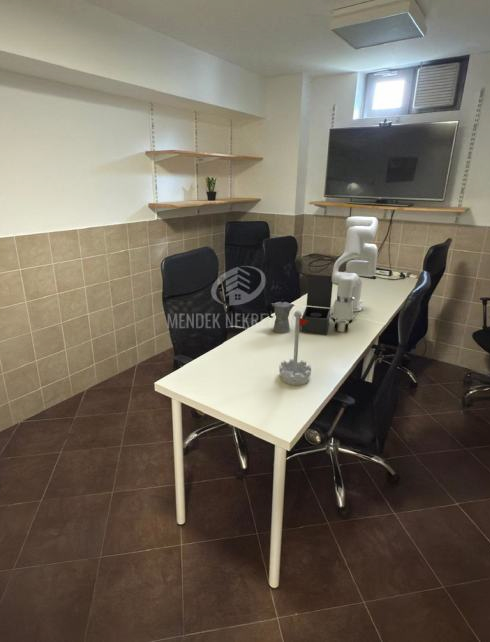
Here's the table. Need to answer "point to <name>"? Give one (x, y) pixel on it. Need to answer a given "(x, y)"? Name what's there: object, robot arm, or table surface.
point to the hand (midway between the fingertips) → (341, 329)
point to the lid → (319, 290)
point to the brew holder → (315, 315)
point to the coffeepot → (280, 315)
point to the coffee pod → (341, 325)
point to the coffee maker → (316, 320)
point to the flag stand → (295, 360)
